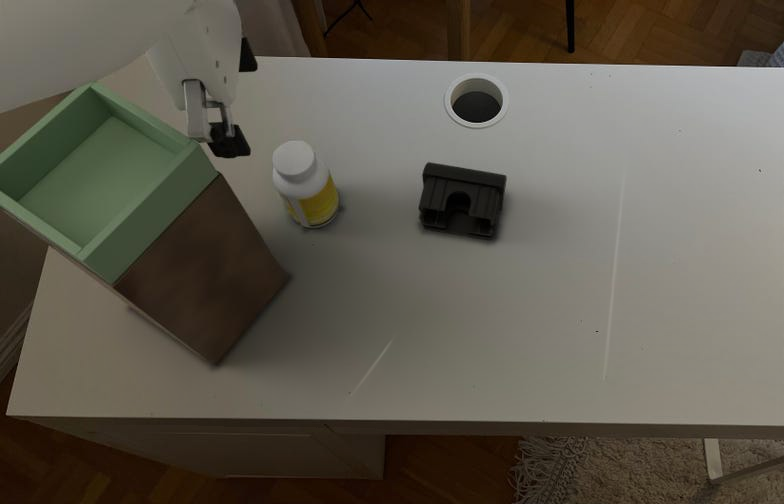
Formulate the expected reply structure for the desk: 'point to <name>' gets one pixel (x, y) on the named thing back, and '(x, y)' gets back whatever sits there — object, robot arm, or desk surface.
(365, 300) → the desk surface
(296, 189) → the pill bottle
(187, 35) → the robot arm
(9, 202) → the green storage bin
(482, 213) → the end cap
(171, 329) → the stand
